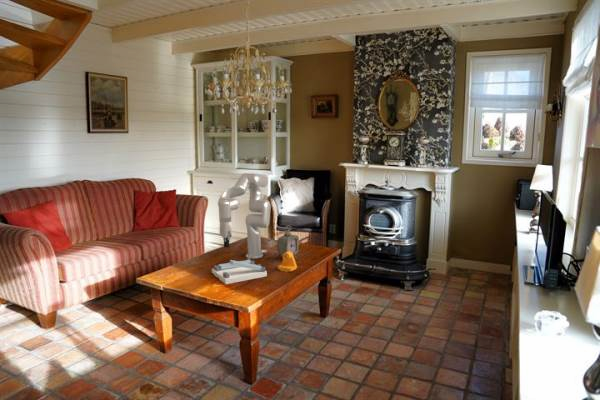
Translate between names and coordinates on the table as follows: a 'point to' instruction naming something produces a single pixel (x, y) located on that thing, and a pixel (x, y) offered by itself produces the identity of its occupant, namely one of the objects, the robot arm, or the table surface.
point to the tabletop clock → (288, 243)
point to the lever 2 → (245, 265)
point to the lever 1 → (228, 265)
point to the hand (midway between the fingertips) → (226, 246)
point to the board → (238, 273)
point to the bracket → (288, 262)
